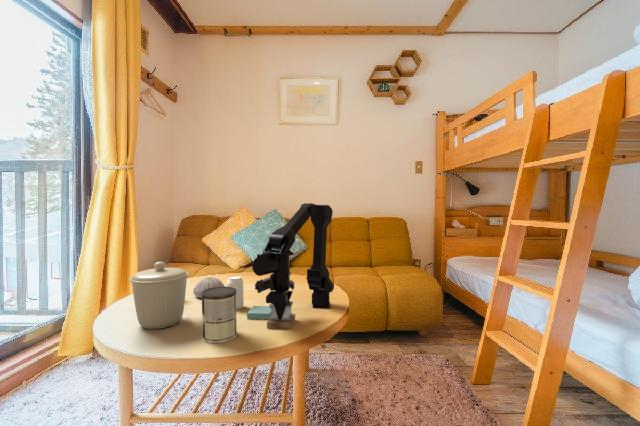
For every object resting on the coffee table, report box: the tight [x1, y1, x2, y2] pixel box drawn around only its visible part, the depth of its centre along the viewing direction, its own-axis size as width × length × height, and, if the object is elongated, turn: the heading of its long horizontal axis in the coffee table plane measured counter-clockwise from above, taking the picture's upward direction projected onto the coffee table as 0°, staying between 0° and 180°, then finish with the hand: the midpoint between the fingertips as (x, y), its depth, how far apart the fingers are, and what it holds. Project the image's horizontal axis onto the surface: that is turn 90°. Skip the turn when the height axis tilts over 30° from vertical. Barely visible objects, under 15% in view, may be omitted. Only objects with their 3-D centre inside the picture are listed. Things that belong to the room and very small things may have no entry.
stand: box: [246, 305, 271, 320], centre depth 119 cm, size 8×8×2 cm
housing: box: [268, 300, 294, 321], centre depth 110 cm, size 7×5×5 cm
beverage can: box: [226, 275, 245, 311], centre depth 127 cm, size 6×6×12 cm
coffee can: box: [201, 286, 238, 344], centre depth 101 cm, size 10×10×14 cm
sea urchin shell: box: [192, 276, 226, 299], centre depth 144 cm, size 13×14×8 cm
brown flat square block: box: [266, 313, 296, 330], centre depth 111 cm, size 8×8×2 cm
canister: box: [128, 261, 190, 330], centre depth 111 cm, size 18×18×21 cm
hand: (281, 316), depth 110 cm, fingers closed on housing, 5 cm apart
